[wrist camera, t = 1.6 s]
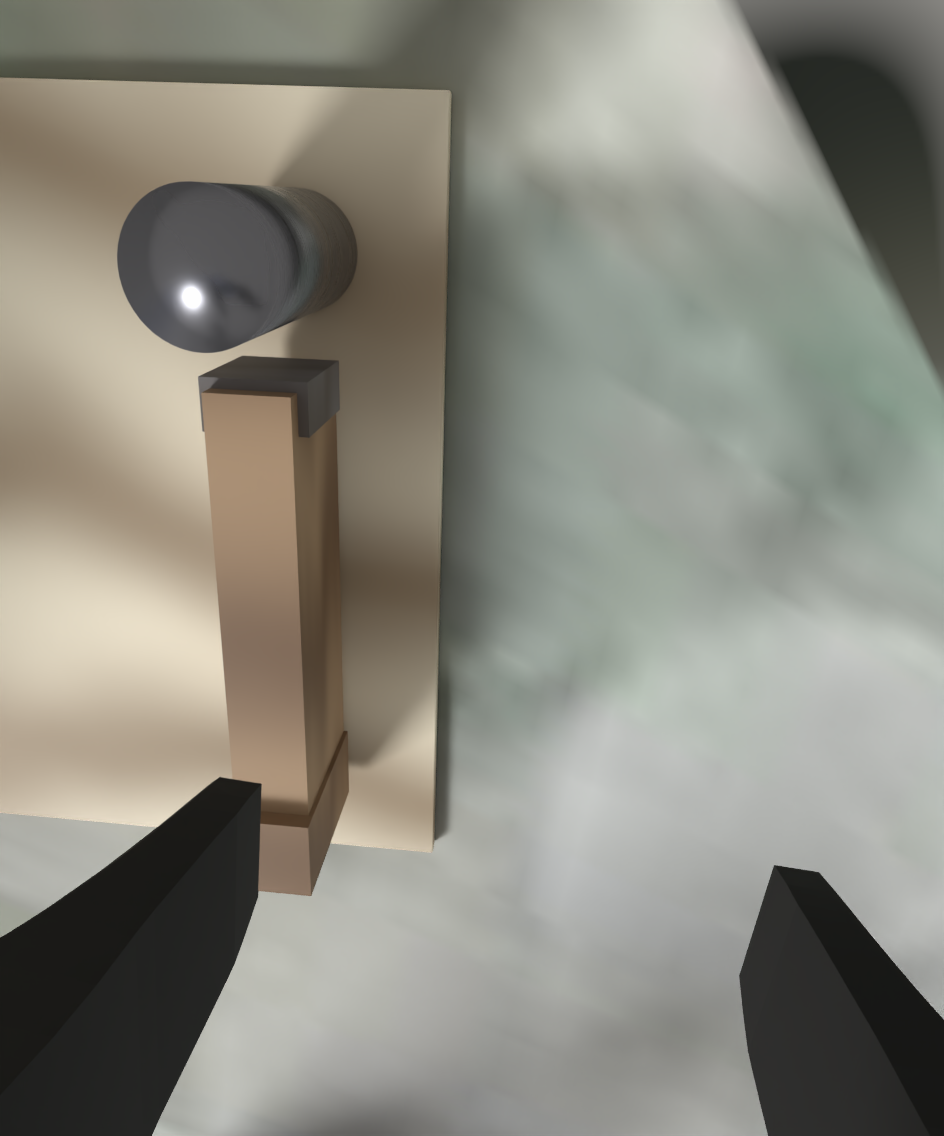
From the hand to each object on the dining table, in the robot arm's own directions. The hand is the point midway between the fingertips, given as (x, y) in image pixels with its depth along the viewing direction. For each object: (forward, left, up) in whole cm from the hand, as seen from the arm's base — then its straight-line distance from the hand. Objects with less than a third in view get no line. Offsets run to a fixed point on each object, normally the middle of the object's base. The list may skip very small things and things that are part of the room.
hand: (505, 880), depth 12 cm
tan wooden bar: (0, +5, -9) cm, 10 cm away
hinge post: (+8, +5, -10) cm, 13 cm away
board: (+2, +10, -10) cm, 14 cm away
